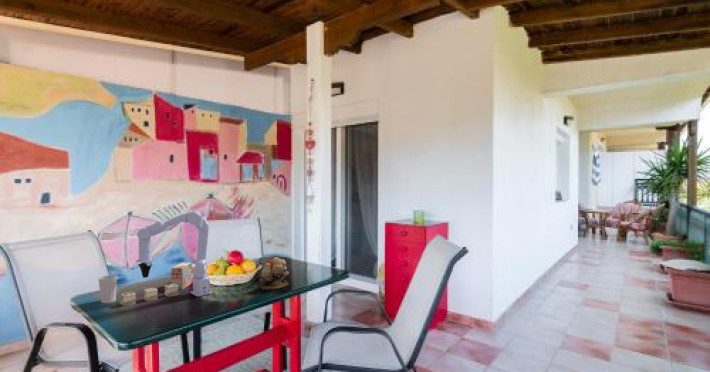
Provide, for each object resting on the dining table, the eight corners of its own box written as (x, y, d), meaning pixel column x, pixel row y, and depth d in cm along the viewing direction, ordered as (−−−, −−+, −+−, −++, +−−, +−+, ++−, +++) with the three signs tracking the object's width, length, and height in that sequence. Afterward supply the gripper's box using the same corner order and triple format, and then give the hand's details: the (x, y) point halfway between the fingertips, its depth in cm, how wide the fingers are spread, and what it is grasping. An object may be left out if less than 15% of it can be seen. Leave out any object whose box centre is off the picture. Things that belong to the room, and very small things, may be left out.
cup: (121, 299, 189) (121, 275, 188) (106, 304, 181) (106, 279, 181) (110, 297, 191) (109, 274, 191) (94, 302, 184) (94, 278, 184)
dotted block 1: (135, 304, 182) (135, 293, 182) (124, 306, 178) (123, 296, 178) (132, 301, 186) (132, 291, 185) (121, 303, 182) (121, 293, 182)
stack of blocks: (188, 278, 227) (188, 258, 227) (199, 278, 227) (198, 258, 227) (171, 289, 206) (171, 267, 205) (182, 289, 205) (182, 267, 205)
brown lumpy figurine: (282, 281, 221) (283, 253, 221) (294, 286, 213) (294, 256, 212) (255, 287, 209) (255, 257, 208) (266, 292, 200) (266, 261, 200)
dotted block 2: (178, 294, 196) (178, 285, 196) (168, 297, 193) (168, 287, 192) (174, 292, 200) (174, 283, 200) (164, 294, 196) (164, 285, 196)
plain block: (157, 299, 189) (157, 289, 189) (146, 301, 186) (146, 291, 185) (154, 297, 193) (154, 287, 192) (143, 299, 189) (143, 289, 189)
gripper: (132, 250, 194) (132, 275, 194) (140, 254, 183) (140, 281, 184) (147, 248, 199) (147, 273, 199) (156, 252, 188) (156, 278, 189)
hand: (145, 277), depth 192 cm, fingers closed
